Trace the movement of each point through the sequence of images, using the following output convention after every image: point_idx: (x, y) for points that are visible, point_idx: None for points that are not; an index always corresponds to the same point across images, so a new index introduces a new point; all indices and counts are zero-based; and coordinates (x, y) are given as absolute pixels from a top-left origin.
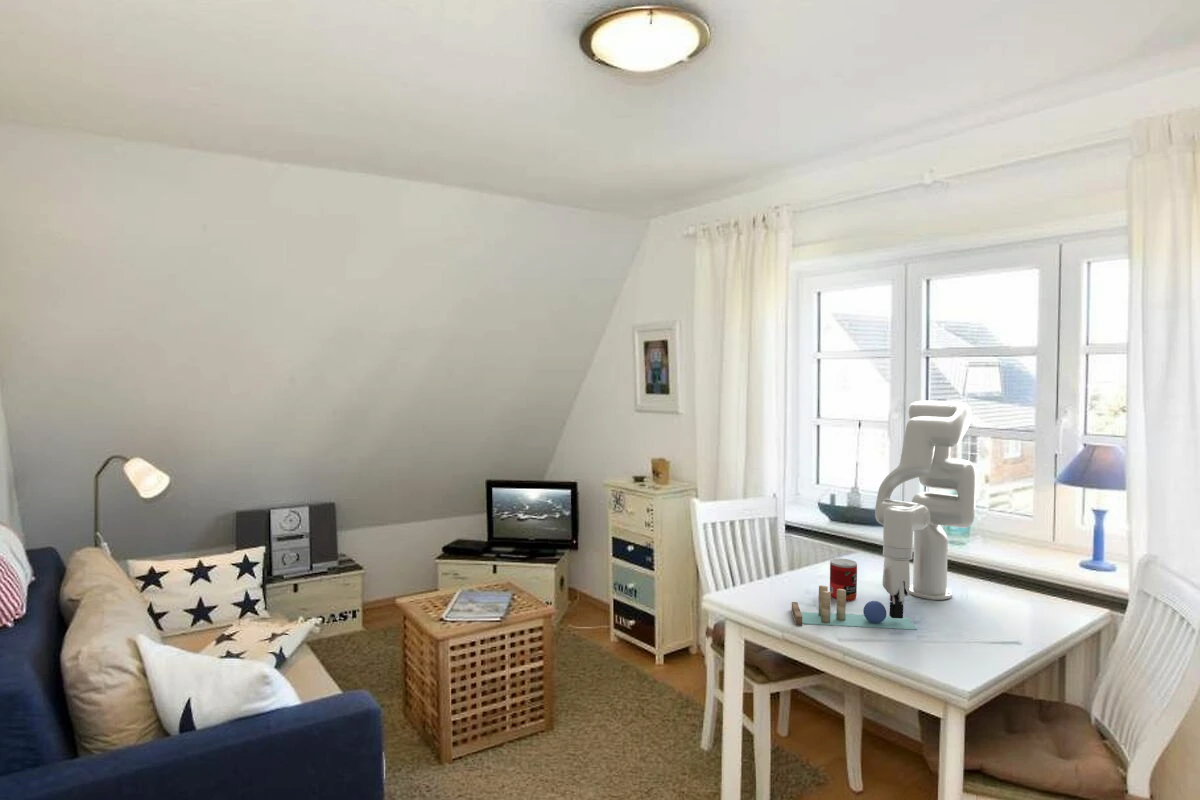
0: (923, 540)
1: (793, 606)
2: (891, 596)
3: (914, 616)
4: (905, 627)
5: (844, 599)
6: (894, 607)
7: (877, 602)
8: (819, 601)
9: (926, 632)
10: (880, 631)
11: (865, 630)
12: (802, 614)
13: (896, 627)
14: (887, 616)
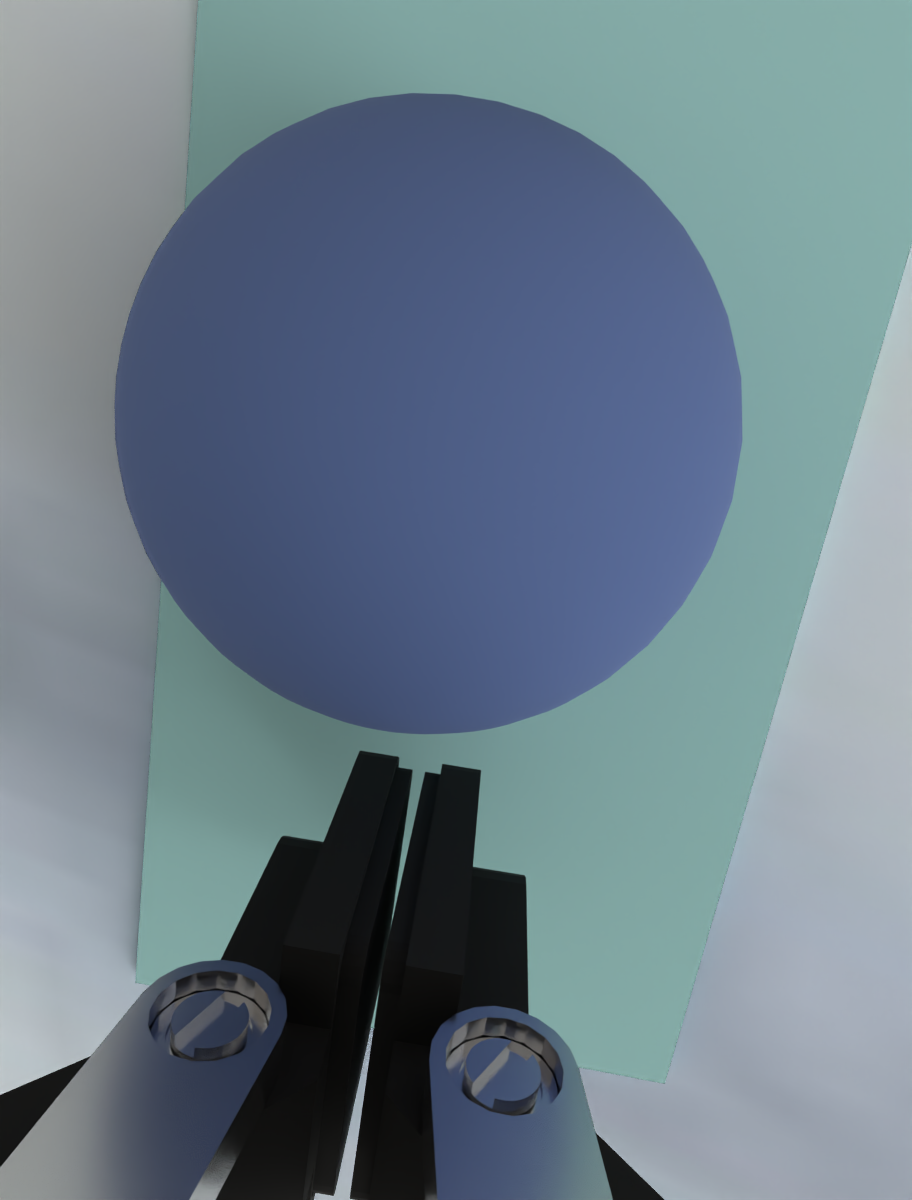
0: None
1: None
2: (439, 1181)
3: (717, 1180)
4: (190, 848)
5: None
6: (264, 944)
7: (303, 534)
8: None
9: (53, 1047)
10: (3, 349)
11: (18, 38)
12: None
13: (176, 706)
14: (732, 780)
